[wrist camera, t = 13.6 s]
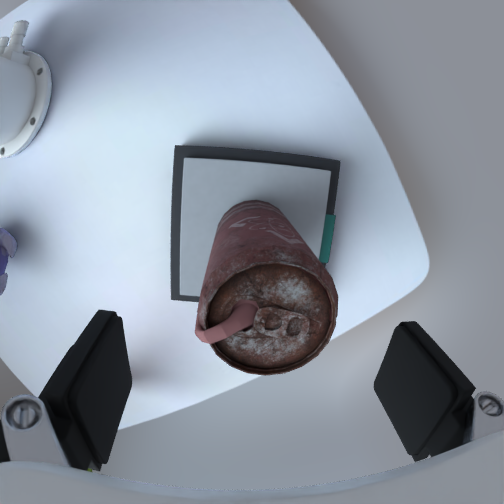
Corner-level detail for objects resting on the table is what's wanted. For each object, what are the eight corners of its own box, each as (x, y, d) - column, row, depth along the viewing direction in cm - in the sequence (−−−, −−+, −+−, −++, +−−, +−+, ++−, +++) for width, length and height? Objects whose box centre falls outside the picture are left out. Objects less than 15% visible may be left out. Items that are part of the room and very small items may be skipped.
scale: (179, 146, 25) (172, 145, 22) (334, 160, 26) (345, 161, 23) (175, 290, 29) (169, 304, 27) (313, 298, 30) (320, 312, 28)
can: (201, 217, 24) (161, 292, 11) (274, 187, 24) (321, 229, 11) (231, 281, 26) (227, 398, 13) (299, 253, 26) (357, 352, 12)
